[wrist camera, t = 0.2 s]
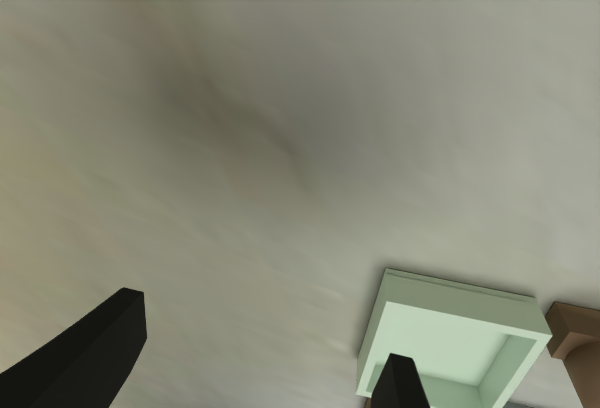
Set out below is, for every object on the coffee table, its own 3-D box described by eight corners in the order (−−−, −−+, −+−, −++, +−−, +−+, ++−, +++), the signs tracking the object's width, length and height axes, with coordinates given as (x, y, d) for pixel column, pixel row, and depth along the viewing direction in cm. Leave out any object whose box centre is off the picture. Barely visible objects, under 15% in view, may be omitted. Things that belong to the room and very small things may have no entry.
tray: (481, 386, 26) (490, 424, 24) (357, 359, 26) (355, 394, 24) (535, 298, 21) (552, 335, 19) (385, 268, 22) (386, 301, 20)
